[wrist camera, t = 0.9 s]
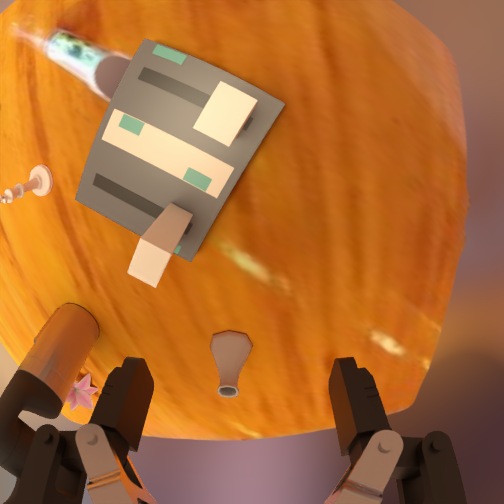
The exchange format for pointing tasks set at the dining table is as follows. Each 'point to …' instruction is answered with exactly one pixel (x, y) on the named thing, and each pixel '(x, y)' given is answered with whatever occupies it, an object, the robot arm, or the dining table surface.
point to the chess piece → (31, 185)
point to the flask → (230, 359)
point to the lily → (81, 394)
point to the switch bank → (168, 145)
